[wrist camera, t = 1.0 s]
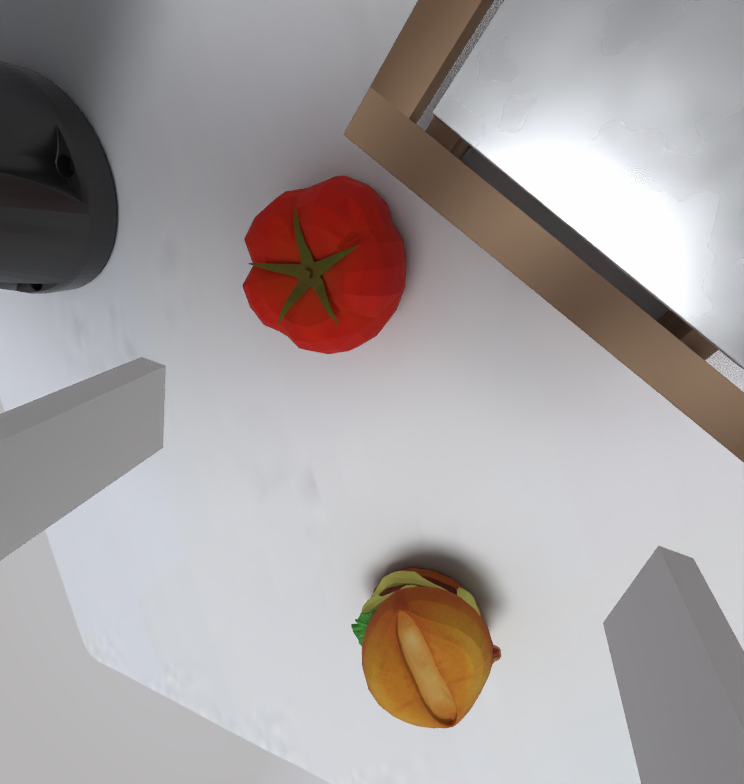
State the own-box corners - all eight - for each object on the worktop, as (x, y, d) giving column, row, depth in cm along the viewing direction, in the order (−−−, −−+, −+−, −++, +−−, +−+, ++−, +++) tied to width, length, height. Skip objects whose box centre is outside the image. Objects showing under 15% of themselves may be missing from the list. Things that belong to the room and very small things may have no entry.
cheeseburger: (347, 613, 39) (311, 706, 30) (406, 519, 37) (387, 587, 27) (446, 677, 38) (442, 795, 28) (513, 584, 36) (533, 679, 26)
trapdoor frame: (419, 172, 25) (343, 134, 14) (685, -226, 17) (1002, -1048, 6) (650, 361, 25) (760, 476, 14) (1021, 49, 17) (1960, -266, 6)
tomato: (374, 356, 30) (334, 396, 23) (267, 287, 30) (197, 306, 24) (450, 229, 26) (427, 233, 19) (324, 150, 26) (259, 127, 19)
